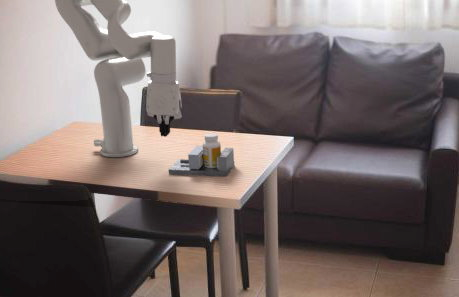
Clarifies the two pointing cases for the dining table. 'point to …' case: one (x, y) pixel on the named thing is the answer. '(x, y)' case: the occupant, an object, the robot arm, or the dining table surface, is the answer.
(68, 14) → the robot arm
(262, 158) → the dining table surface
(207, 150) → the supplement bottle
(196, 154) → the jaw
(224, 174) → the vise bed
